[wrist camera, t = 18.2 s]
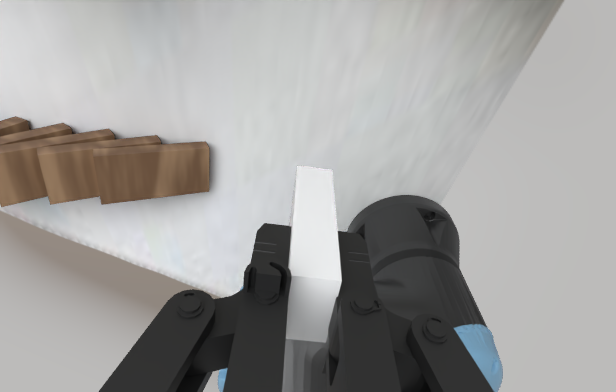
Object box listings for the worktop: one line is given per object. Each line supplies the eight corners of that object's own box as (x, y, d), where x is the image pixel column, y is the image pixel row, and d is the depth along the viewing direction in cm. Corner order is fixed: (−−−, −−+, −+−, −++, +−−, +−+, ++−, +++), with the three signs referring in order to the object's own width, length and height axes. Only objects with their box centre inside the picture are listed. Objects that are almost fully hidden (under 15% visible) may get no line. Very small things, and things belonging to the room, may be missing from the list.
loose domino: (205, 184, 50) (100, 196, 45) (205, 141, 47) (92, 149, 41) (209, 191, 49) (101, 204, 43) (209, 148, 45) (93, 156, 40)
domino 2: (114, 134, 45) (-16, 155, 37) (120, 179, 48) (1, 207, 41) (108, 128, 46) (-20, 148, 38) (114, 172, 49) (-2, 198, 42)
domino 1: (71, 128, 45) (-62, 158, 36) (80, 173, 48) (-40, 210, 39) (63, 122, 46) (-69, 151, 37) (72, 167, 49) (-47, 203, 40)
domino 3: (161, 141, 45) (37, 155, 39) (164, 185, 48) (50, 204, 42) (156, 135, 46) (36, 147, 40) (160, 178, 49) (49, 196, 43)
